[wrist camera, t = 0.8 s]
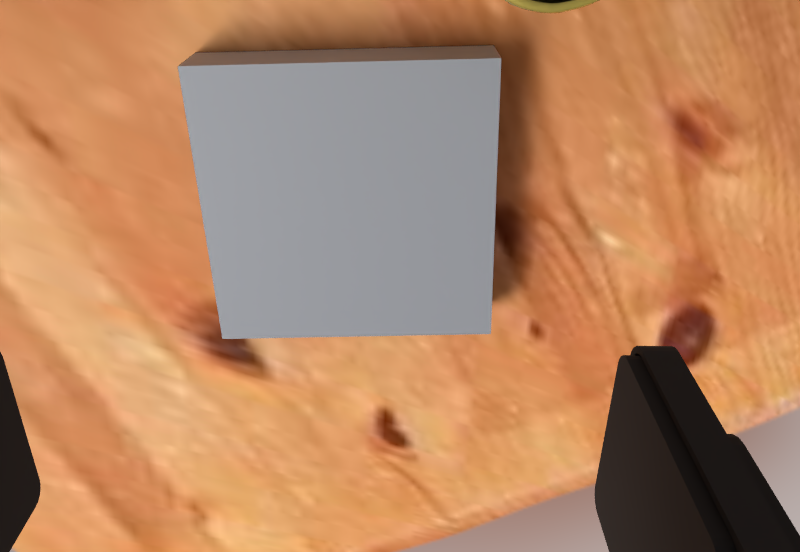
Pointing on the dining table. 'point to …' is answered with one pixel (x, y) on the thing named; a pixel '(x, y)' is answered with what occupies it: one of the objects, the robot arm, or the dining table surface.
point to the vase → (550, 5)
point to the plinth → (347, 188)
